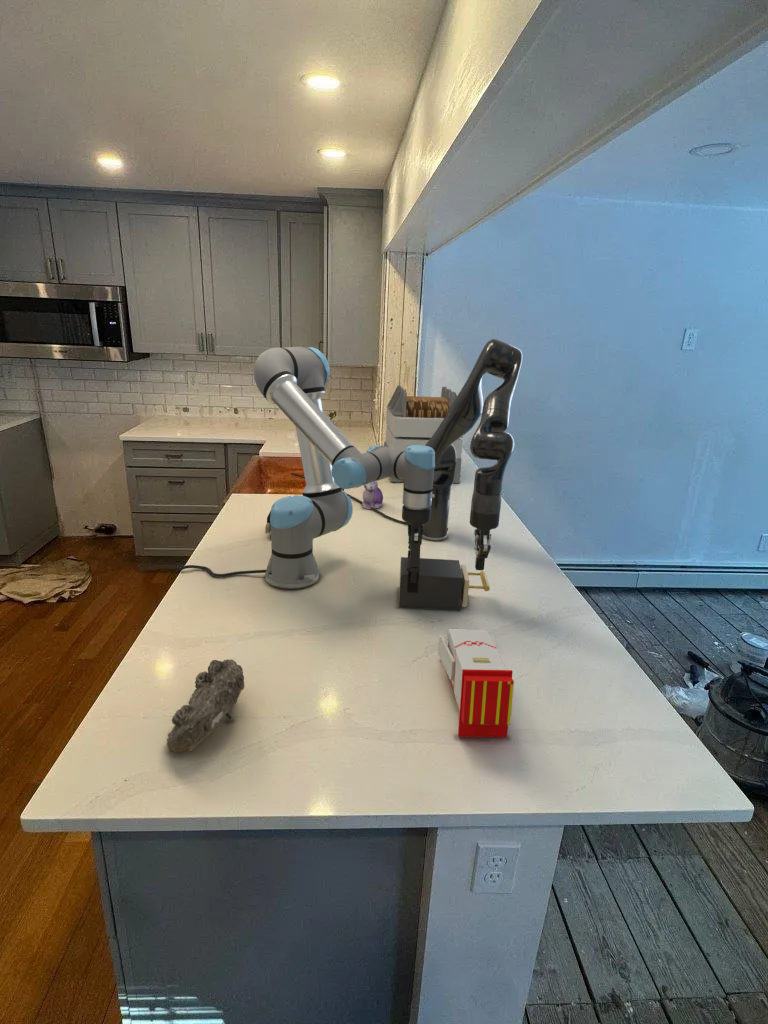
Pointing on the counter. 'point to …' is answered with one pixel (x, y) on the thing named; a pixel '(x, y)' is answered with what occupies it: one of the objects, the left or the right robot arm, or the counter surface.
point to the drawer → (466, 585)
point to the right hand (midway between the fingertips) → (479, 569)
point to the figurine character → (268, 524)
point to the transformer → (418, 422)
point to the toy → (478, 682)
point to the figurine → (372, 496)
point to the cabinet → (432, 585)
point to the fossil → (206, 705)
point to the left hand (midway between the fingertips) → (411, 581)
